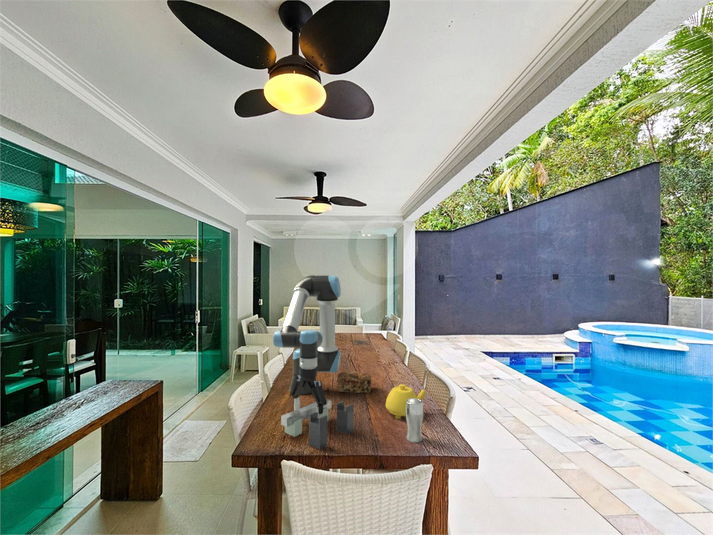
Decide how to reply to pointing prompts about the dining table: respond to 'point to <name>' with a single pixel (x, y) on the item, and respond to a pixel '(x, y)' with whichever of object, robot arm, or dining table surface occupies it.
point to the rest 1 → (294, 428)
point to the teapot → (401, 400)
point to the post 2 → (345, 417)
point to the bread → (354, 382)
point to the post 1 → (317, 431)
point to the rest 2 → (326, 413)
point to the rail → (301, 413)
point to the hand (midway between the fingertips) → (307, 416)
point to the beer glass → (414, 419)
